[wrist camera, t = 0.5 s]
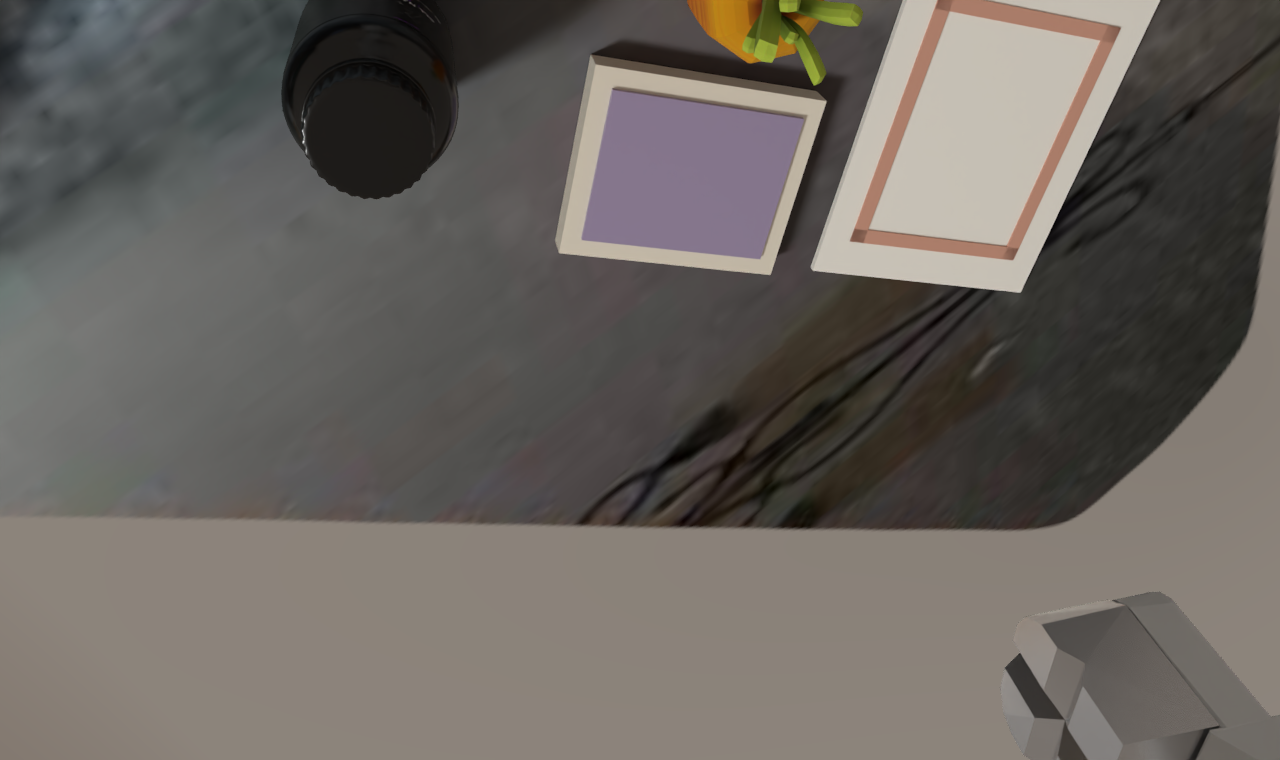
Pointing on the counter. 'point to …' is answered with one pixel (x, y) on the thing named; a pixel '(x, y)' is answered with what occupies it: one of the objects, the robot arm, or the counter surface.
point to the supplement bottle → (371, 92)
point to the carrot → (772, 27)
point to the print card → (976, 137)
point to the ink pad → (684, 166)
